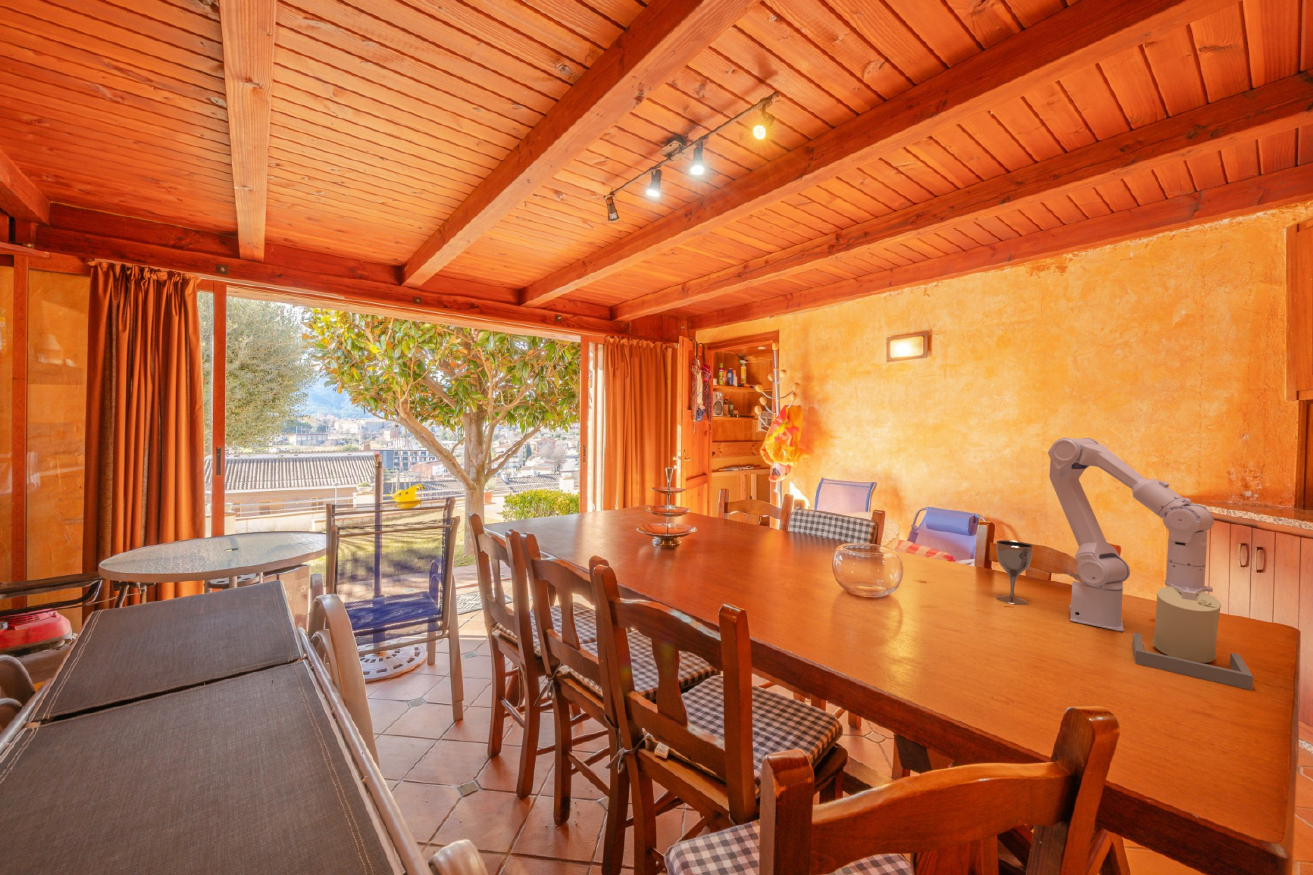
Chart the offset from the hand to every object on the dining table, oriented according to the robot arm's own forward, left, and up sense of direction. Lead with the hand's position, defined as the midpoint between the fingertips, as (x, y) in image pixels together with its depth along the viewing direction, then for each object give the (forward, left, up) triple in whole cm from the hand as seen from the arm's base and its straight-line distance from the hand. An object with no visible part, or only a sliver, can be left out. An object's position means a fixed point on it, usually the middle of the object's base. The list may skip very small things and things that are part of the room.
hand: (1182, 627), depth 112 cm
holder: (0, -11, -5) cm, 11 cm away
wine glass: (-31, +12, -5) cm, 33 cm away
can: (0, -4, -3) cm, 5 cm away
